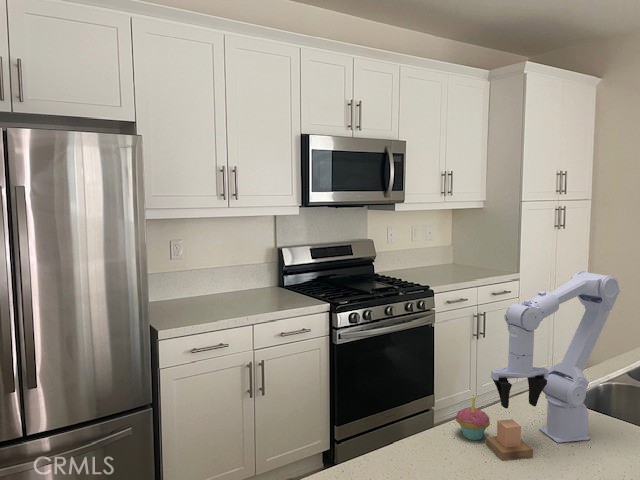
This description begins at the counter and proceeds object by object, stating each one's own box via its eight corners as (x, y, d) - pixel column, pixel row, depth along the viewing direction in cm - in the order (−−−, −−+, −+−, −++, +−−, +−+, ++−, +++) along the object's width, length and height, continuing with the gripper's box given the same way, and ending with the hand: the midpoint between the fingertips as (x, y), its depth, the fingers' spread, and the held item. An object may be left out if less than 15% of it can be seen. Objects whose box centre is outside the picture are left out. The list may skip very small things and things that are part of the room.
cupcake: (491, 444, 130) (492, 398, 129) (456, 441, 131) (457, 396, 130) (487, 429, 138) (488, 386, 137) (454, 427, 140) (455, 384, 139)
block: (520, 446, 125) (521, 426, 124) (505, 447, 124) (505, 427, 124) (511, 438, 129) (512, 419, 128) (496, 439, 128) (497, 420, 128)
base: (514, 441, 131) (514, 434, 131) (532, 457, 123) (533, 449, 123) (485, 444, 130) (485, 437, 130) (502, 460, 122) (502, 452, 122)
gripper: (537, 347, 132) (535, 398, 133) (485, 349, 130) (483, 401, 131) (554, 355, 125) (552, 409, 126) (500, 357, 123) (498, 412, 124)
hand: (518, 405), depth 128 cm, fingers open, 7 cm apart
